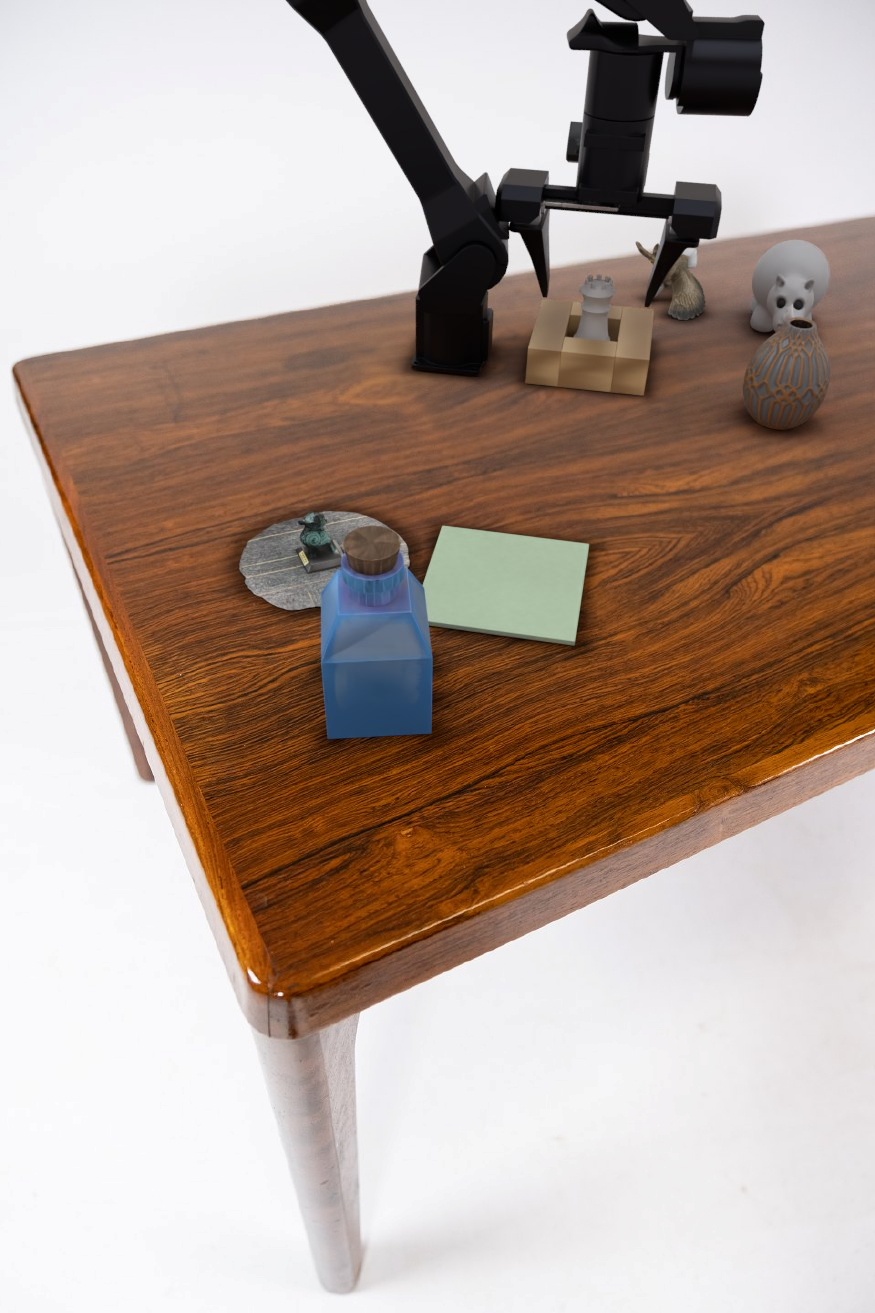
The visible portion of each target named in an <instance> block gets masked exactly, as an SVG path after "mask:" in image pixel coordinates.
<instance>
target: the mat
mask: <svg viewBox="0 0 875 1313" xmlns="http://www.w3.org/2000/svg"><path fill="white" fill-rule="evenodd" d="M436 540H437V541H436V543H435V546H434V549H433V552H432V555H431V559H430V562H429V565H428V567H427V570H426V574H425V577H424V580H423V583H422V584H421V585H422V586H423V587H424V590H425V598H426V607H427V615H428V624H429V627H430V626H431V627H438V628H445V629H452V630H459V631H467V632H471V633H472V632H474V633H481V634H488V635H495V636H502V637H509V638H516V639H524V640H530V641H538V642H546V643H553V644H559V645H567V646H573V647H574V646H575V645H576V638H577V632H578V631H577V630H578V625H579V618H580V611H581V605H582V598H583V590H584V583H585V579H586V578H585V577H586V570H587V563H588V558H589V557H588V556H589V550H590V549H589V548H590V544H589V543H585V542H577V541H571V540H569V541H568V540H561V539H552V538H545V537H537V536H529V535H520V534H513V533H505V532H497V531H488V530H483V529H482V530H481V529H475V528H473V529H472V528H465V527H457V526H450V525H442V526H441V529H440V531H439V535H438V538H437V539H436Z"/></svg>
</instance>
